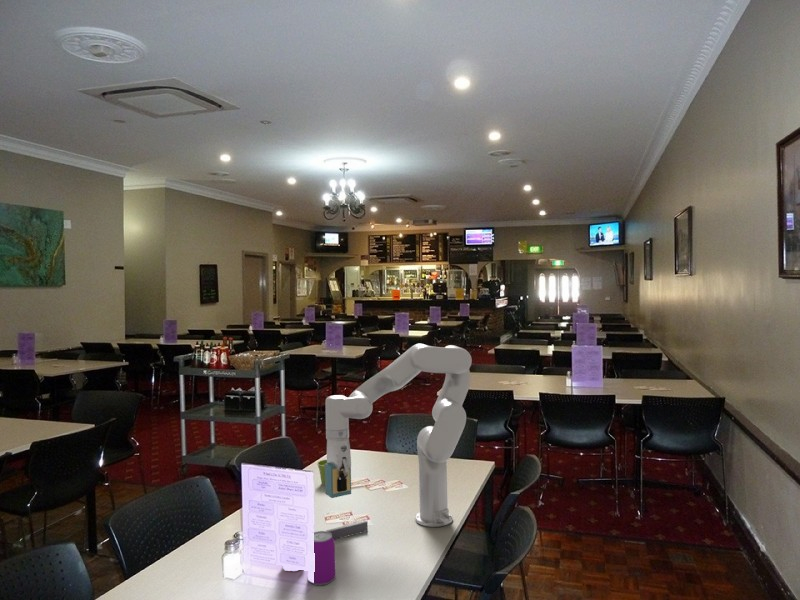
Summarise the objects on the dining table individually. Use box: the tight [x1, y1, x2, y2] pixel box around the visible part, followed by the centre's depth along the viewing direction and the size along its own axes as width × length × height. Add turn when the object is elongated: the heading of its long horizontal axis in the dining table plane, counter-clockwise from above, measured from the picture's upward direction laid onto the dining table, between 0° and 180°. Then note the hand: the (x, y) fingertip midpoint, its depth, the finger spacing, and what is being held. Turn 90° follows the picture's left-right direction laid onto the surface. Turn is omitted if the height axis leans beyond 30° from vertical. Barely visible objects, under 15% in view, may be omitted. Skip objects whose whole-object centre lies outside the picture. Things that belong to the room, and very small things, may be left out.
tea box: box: [324, 463, 352, 499], centre depth 189 cm, size 5×7×10 cm
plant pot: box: [316, 458, 327, 486], centre depth 235 cm, size 9×9×9 cm
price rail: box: [325, 520, 369, 540], centre depth 186 cm, size 4×14×3 cm, turn 120°
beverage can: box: [313, 530, 336, 586], centre depth 157 cm, size 8×8×12 cm
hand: (338, 487), depth 189 cm, fingers closed on tea box, 5 cm apart
